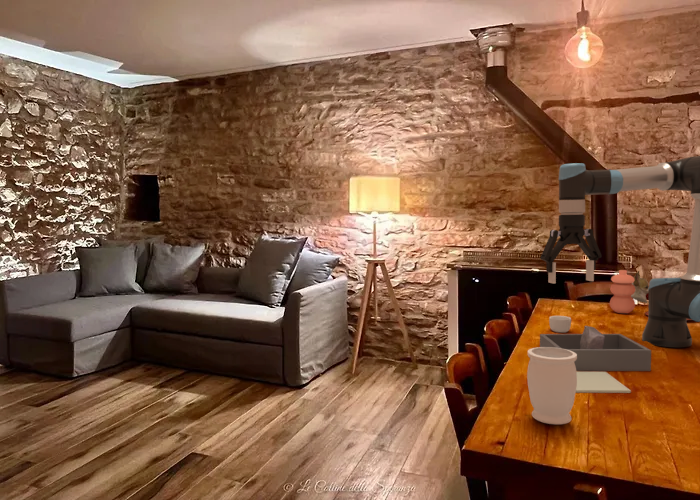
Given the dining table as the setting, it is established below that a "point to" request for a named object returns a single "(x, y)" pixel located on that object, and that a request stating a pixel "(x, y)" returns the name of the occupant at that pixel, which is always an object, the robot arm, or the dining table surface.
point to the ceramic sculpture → (640, 288)
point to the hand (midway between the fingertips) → (571, 282)
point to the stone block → (591, 339)
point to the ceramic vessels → (623, 293)
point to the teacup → (560, 323)
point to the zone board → (598, 383)
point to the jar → (552, 383)
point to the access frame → (603, 352)
